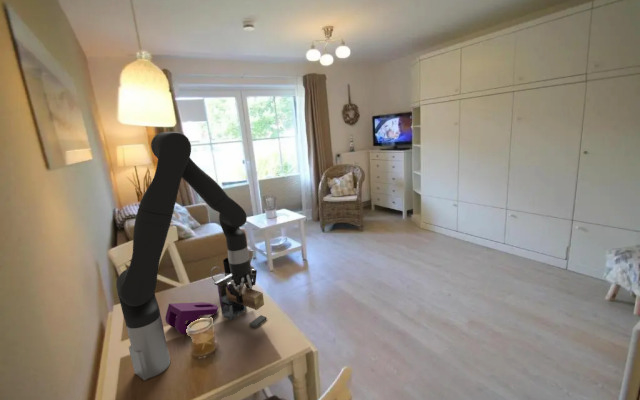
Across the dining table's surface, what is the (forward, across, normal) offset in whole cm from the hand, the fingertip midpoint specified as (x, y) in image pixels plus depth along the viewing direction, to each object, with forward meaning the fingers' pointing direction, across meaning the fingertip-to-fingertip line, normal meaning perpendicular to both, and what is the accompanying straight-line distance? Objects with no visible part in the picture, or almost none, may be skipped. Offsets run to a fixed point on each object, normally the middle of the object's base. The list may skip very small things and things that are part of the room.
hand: (245, 300), depth 118 cm
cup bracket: (+8, 0, +7) cm, 11 cm away
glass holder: (+8, +11, +23) cm, 27 cm away
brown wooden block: (+1, 0, 0) cm, 1 cm away
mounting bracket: (+8, -11, +18) cm, 22 cm away
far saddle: (+8, 0, -6) cm, 10 cm away
